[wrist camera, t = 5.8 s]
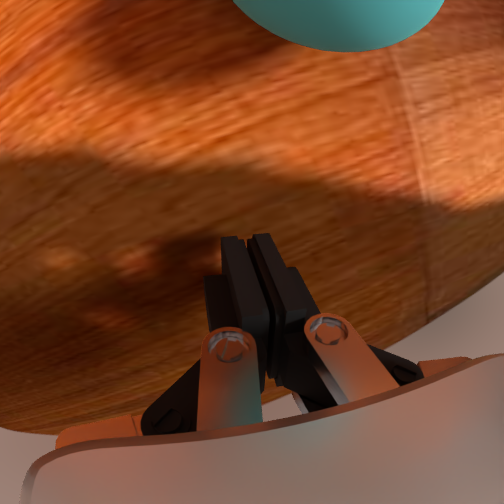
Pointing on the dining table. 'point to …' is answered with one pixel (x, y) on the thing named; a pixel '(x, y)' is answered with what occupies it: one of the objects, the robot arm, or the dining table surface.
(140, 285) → the dining table surface
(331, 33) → the ball
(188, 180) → the dining table surface
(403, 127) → the dining table surface
